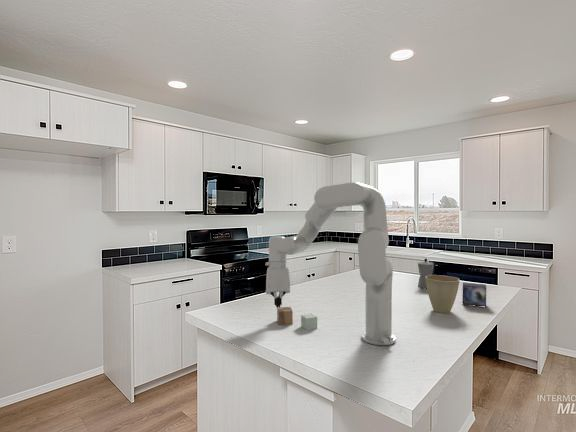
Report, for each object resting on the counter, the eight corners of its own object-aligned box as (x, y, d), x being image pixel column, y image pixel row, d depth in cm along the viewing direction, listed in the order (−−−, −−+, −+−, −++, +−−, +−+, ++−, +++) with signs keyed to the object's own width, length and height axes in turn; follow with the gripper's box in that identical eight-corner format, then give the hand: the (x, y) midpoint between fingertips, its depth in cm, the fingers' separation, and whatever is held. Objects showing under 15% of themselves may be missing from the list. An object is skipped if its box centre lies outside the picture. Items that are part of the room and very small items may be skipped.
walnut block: (278, 325, 142) (292, 324, 143) (278, 311, 142) (292, 310, 143) (276, 320, 148) (290, 320, 149) (276, 307, 148) (290, 306, 148)
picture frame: (462, 305, 169) (462, 284, 169) (462, 302, 175) (462, 282, 175) (486, 308, 164) (486, 287, 164) (485, 304, 170) (485, 284, 170)
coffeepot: (424, 290, 201) (424, 260, 201) (412, 286, 209) (412, 258, 209) (441, 287, 208) (441, 258, 208) (429, 284, 216) (429, 256, 216)
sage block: (317, 328, 138) (317, 316, 137) (306, 330, 136) (306, 318, 135) (311, 325, 142) (311, 313, 142) (301, 326, 140) (301, 315, 140)
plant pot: (448, 318, 150) (448, 282, 149) (419, 309, 162) (419, 277, 162) (465, 312, 158) (466, 278, 157) (436, 304, 170) (436, 273, 170)
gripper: (261, 266, 139) (261, 310, 140) (296, 265, 142) (296, 308, 142) (259, 263, 147) (260, 305, 147) (293, 262, 149) (293, 303, 150)
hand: (278, 306), depth 145 cm, fingers closed
